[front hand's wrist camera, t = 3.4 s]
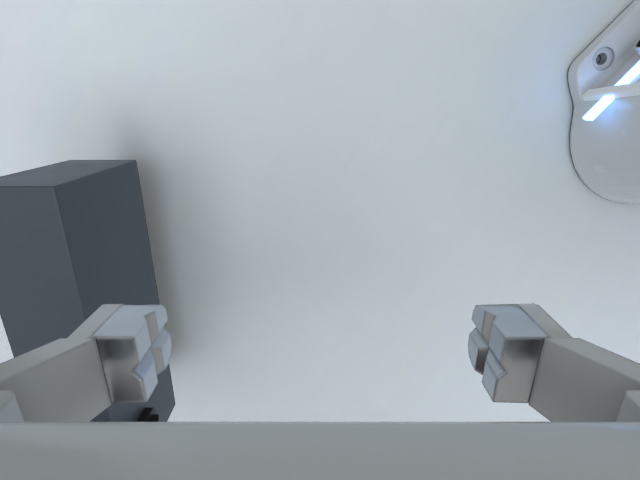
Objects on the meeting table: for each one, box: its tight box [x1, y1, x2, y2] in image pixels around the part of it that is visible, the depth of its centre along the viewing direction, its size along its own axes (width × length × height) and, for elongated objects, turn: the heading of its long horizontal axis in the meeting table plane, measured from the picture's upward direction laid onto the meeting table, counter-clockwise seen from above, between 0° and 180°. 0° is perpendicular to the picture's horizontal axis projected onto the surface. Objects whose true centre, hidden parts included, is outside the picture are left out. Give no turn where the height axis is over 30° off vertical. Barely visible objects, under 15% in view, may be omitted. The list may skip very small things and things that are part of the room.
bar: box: [0, 160, 175, 422], centre depth 29 cm, size 23×5×10 cm, turn 0°
